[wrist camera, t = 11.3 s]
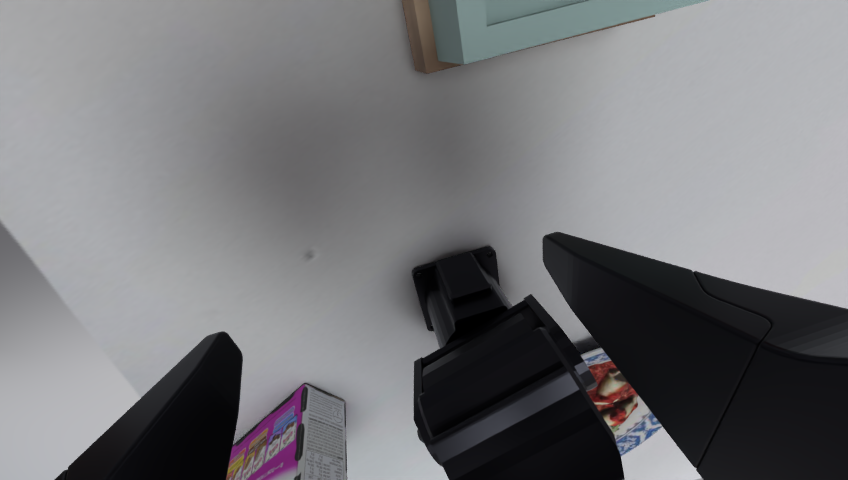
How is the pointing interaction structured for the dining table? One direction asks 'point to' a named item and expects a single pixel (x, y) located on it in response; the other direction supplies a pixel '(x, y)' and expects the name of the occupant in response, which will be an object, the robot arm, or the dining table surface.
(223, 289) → the dining table surface
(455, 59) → the top block
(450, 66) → the bottom block
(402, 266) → the dining table surface
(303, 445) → the candy bar box
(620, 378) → the ceramic plate
